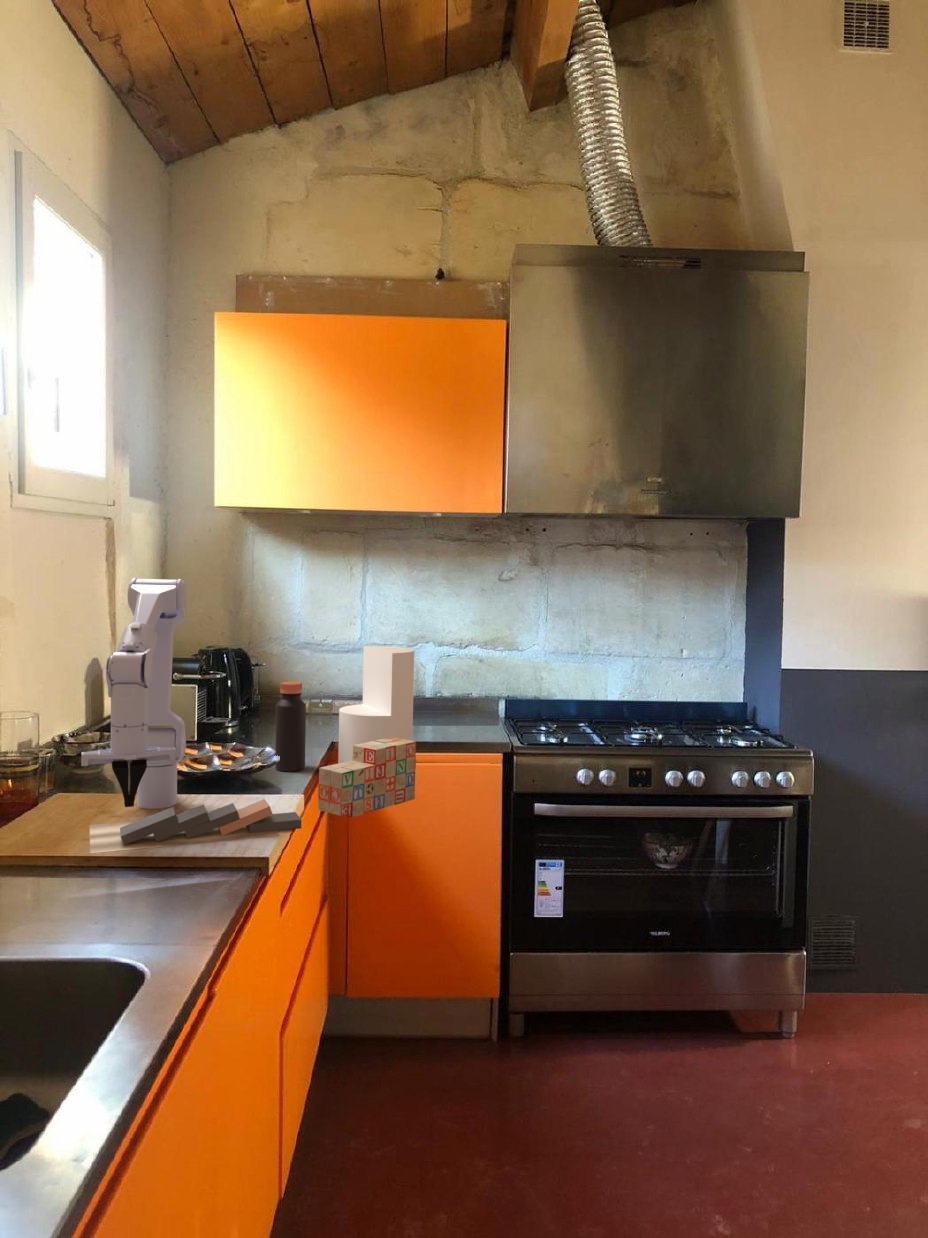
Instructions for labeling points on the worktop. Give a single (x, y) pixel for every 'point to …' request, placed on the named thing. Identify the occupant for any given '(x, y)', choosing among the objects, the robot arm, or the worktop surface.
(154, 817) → the domino
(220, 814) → the domino
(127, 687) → the robot arm
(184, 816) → the domino
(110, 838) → the birch board
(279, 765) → the bottle
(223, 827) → the domino
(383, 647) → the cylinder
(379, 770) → the stack of blocks
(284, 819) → the end domino
